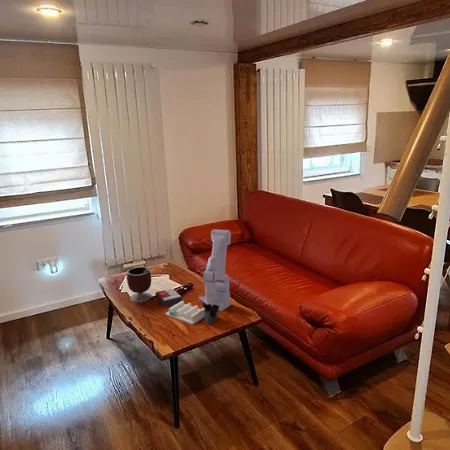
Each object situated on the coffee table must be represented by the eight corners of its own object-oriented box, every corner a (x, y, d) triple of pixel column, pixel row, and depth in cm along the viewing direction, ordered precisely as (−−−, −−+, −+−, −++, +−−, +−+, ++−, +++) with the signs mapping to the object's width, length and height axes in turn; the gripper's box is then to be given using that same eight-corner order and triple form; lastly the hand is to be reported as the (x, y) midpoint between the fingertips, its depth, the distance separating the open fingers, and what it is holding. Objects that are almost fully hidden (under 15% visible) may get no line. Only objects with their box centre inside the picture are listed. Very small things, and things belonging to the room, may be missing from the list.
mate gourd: (124, 301, 226) (121, 269, 221) (135, 291, 239) (132, 261, 234) (149, 304, 223) (146, 271, 217) (158, 293, 236) (156, 263, 230)
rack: (182, 304, 221) (182, 299, 220) (209, 313, 210) (208, 307, 210) (165, 315, 210) (165, 309, 209) (192, 324, 199) (192, 318, 198)
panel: (214, 316, 208) (214, 304, 206) (218, 317, 206) (218, 305, 204) (204, 323, 201) (204, 311, 199) (208, 324, 199) (207, 312, 197)
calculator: (172, 287, 236) (181, 295, 223) (172, 294, 237) (182, 302, 224) (155, 291, 231) (163, 300, 218) (155, 298, 232) (164, 307, 219)
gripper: (194, 291, 200) (195, 315, 204) (217, 298, 192) (218, 323, 196) (203, 287, 206) (204, 310, 209) (225, 293, 198) (226, 317, 201)
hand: (211, 316), depth 203 cm, fingers open, 3 cm apart
